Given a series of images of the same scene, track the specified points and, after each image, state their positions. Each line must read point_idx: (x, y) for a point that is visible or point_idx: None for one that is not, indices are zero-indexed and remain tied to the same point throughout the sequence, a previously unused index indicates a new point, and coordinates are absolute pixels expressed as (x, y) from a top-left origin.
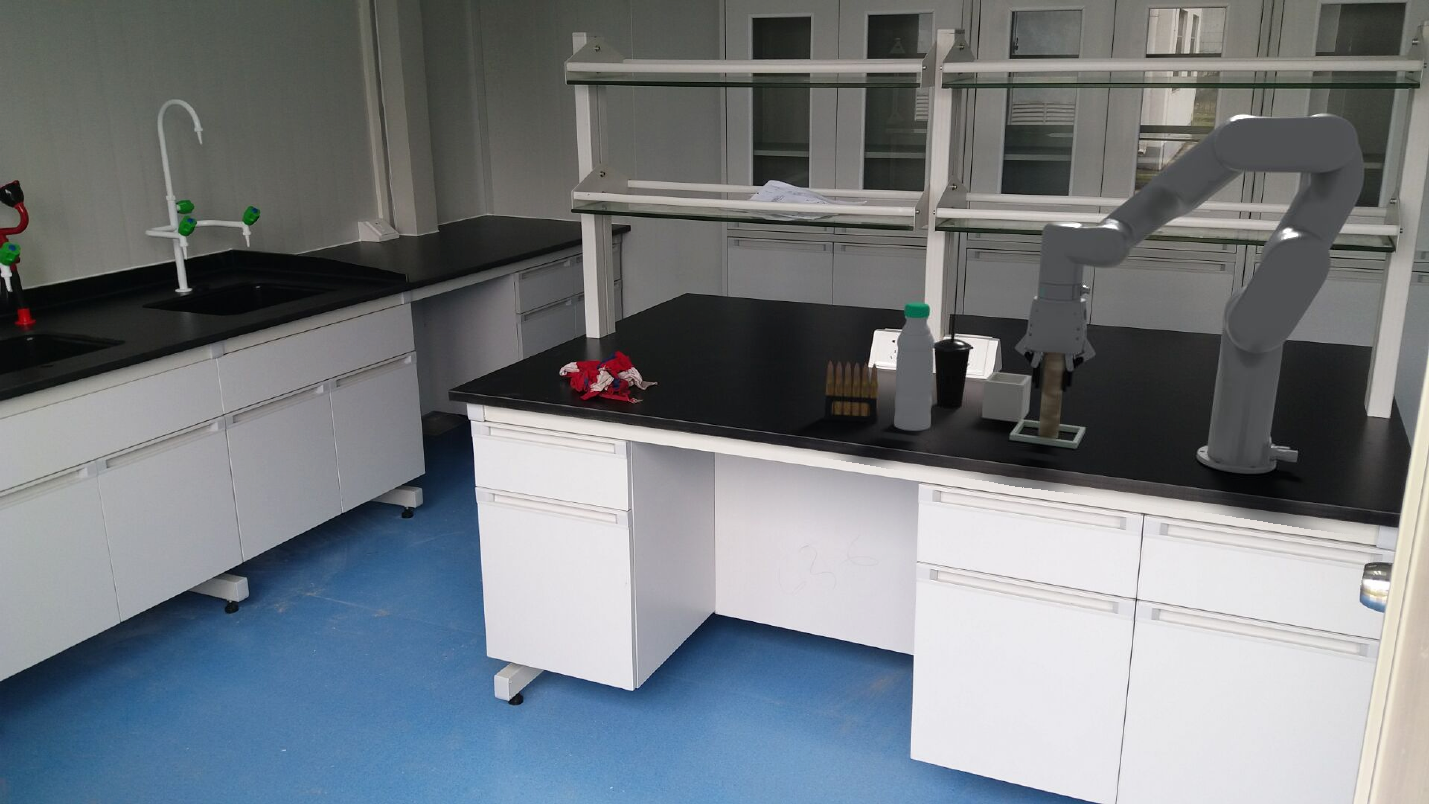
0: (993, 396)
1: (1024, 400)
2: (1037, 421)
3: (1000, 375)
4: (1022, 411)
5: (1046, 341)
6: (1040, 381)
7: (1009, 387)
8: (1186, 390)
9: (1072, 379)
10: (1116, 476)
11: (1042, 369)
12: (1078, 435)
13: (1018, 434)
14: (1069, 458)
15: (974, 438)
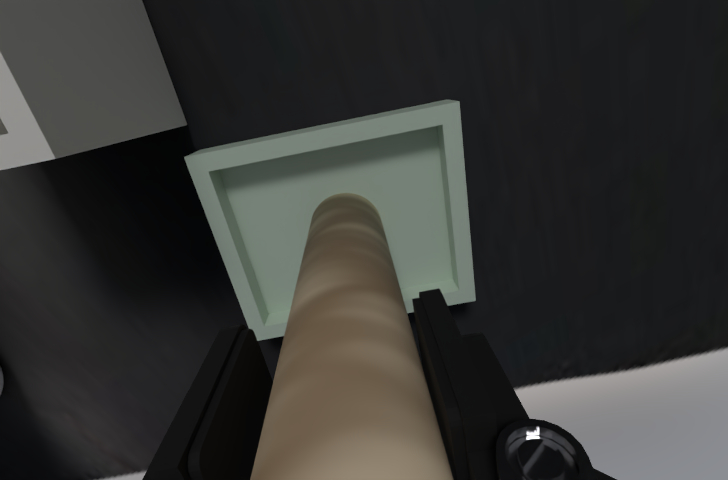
0: None
1: (104, 76)
2: (255, 146)
3: None
4: (149, 112)
5: None
6: (260, 400)
7: None
8: None
9: (495, 362)
10: (596, 372)
11: (219, 445)
12: (460, 222)
13: (277, 327)
14: (457, 325)
15: (146, 328)
